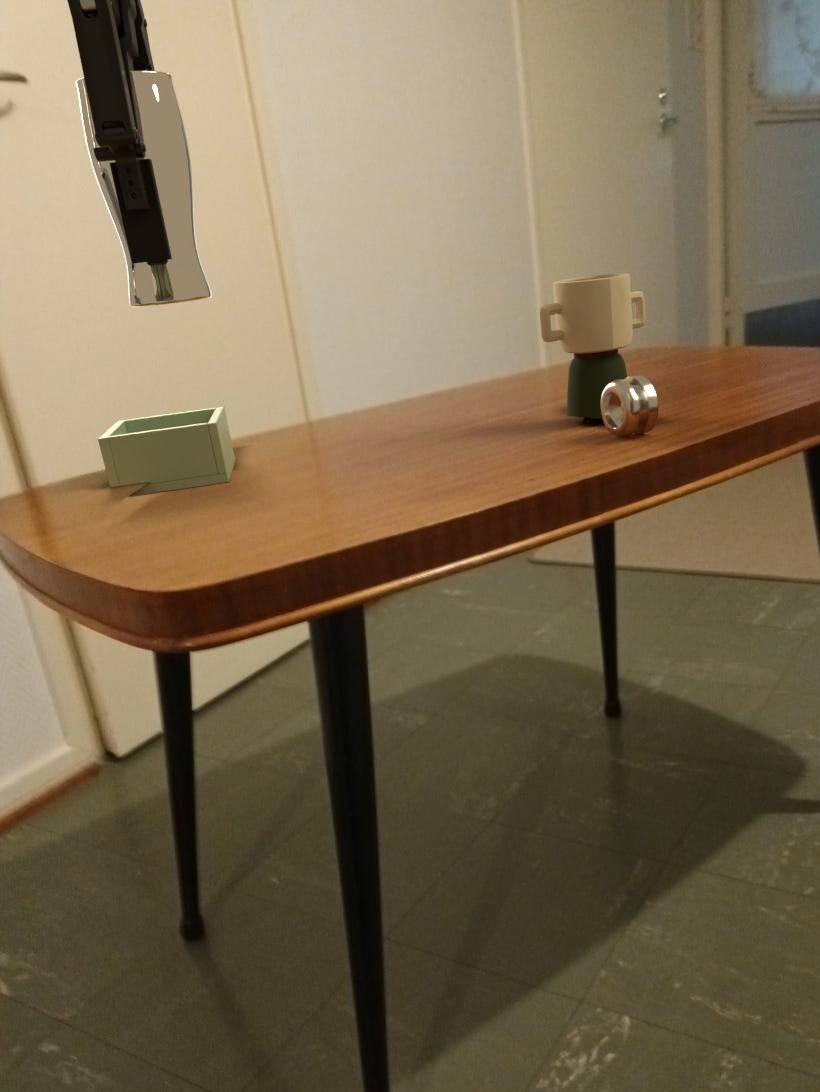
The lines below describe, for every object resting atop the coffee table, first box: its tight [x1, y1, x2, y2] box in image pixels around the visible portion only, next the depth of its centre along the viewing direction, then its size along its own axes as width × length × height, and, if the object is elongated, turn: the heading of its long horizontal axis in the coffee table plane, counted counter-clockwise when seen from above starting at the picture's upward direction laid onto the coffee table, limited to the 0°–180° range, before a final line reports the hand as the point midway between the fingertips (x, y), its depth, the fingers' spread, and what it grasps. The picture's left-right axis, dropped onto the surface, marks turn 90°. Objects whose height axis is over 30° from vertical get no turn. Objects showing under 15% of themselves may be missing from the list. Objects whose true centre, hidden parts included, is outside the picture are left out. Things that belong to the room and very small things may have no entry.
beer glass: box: [75, 70, 212, 308], centre depth 72 cm, size 7×7×15 cm
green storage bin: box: [97, 406, 236, 498], centre depth 90 cm, size 10×10×5 cm
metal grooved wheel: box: [600, 374, 659, 438], centre depth 86 cm, size 5×3×5 cm, turn 27°
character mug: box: [539, 273, 647, 423], centre depth 93 cm, size 11×7×13 cm, turn 112°
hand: (162, 260), depth 74 cm, fingers closed on beer glass, 7 cm apart
